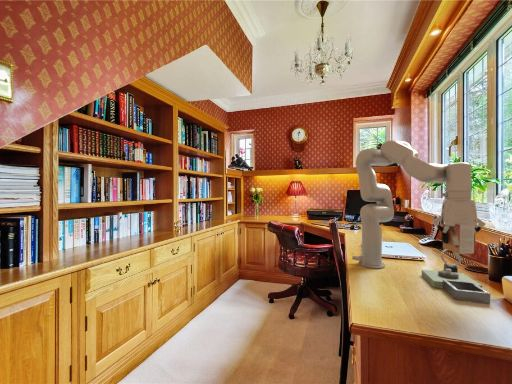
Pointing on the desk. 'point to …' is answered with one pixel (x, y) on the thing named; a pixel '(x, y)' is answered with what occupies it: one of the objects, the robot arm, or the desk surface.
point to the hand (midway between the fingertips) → (457, 243)
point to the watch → (451, 266)
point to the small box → (460, 239)
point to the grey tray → (466, 291)
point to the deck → (445, 277)
